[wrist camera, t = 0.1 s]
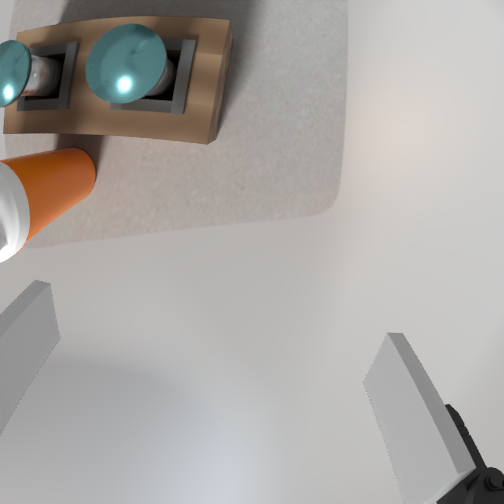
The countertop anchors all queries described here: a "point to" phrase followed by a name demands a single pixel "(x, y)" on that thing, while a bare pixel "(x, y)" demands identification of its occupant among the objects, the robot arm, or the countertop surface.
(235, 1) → the countertop surface
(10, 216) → the shaker bottle
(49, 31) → the socket block
